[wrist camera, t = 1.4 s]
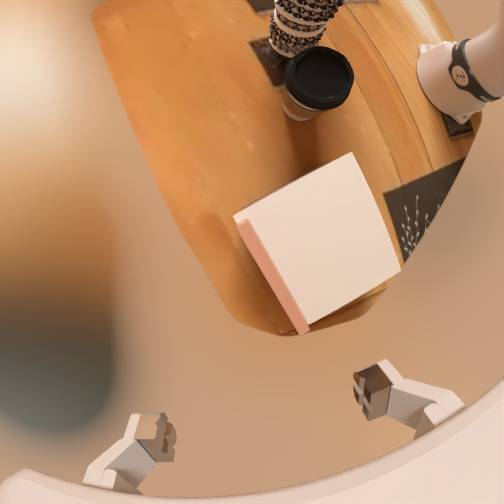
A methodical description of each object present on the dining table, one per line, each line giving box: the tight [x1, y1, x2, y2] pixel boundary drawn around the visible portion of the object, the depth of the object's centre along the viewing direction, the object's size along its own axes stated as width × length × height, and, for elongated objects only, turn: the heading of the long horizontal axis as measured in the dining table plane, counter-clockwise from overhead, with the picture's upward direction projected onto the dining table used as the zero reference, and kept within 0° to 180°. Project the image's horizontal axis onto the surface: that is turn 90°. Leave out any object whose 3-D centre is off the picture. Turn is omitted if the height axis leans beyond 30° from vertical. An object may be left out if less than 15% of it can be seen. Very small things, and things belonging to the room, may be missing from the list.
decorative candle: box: [269, 0, 344, 58], centre depth 24 cm, size 9×9×25 cm
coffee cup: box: [282, 46, 354, 121], centre depth 32 cm, size 8×8×15 cm
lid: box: [233, 152, 401, 335], centre depth 33 cm, size 17×18×4 cm
